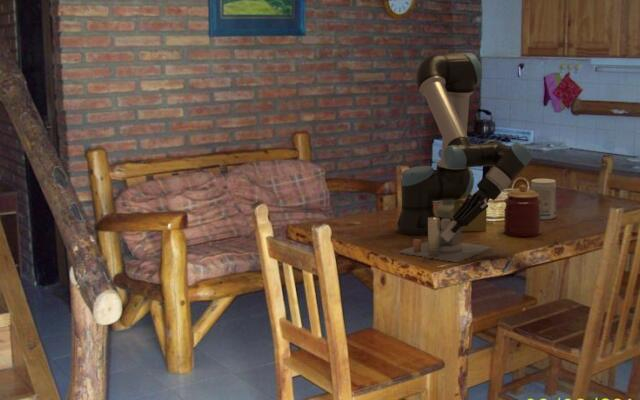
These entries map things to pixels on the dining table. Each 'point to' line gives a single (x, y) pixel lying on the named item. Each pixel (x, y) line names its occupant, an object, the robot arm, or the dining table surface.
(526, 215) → the canister
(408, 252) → the square plate with uprights
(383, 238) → the dining table surface
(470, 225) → the olive yellow box
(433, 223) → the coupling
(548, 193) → the supplement tub
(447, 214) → the air freshener
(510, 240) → the dining table surface
